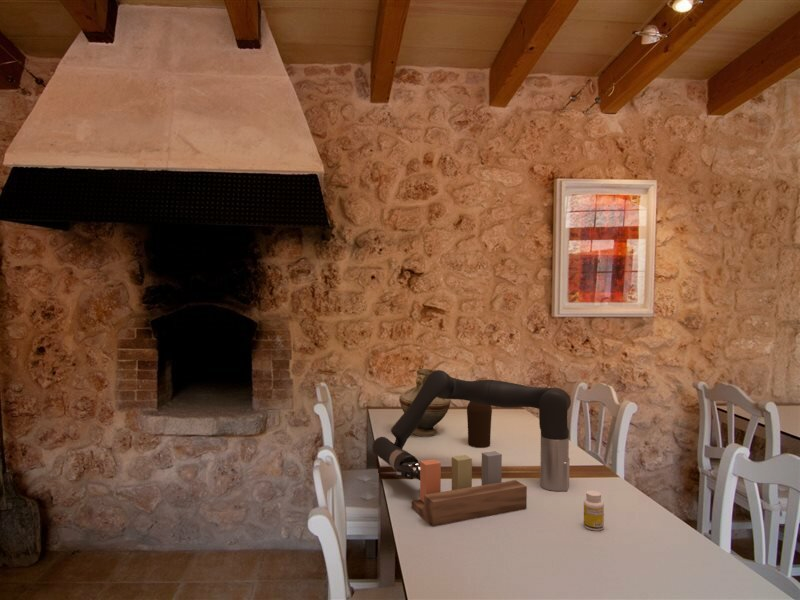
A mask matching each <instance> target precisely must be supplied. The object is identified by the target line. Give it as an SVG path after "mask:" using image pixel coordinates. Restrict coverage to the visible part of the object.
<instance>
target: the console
mask: <svg viewBox="0 0 800 600" xmlns="http://www.w3.org/2000/svg"><path fill="white" fill-rule="evenodd" d="M527 487H528V486H527V485H525V484H523V483H521V482H520V481H518V480H516V479H513V480H507V481H502V482H500V483H494V484H488V485H482V484H481V485H477V486H476V485H475V486H472V487H469V488H463V489H457V490H452V489H450V490H444V491H441V492H438V493H432V494H426V495H424V502H422V501H421V500H420V498H419V499H414V500H411V508H412V509H413V510H414V511H416V513H417V514H419V515H420V517H422V519H424V520H425V521H426V522H427V523H428V524H429V525H431V526H432V527H437V526H443V525H448V524H453V523H458V522H464V521H469V520H475V519H480V518H487V517H490V516H491V517H492V516H496V515H497V516H498V515H503V514H507V513H513V512H518V511H522V510H527V507H528V506H527V503H528V502H527V501H528V500H527V499H528V498H527V497H528V491H527V490H528V488H527Z"/></svg>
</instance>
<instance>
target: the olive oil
mask: <svg viewBox="0 0 800 600" xmlns="http://www.w3.org/2000/svg"><path fill="white" fill-rule="evenodd" d="M492 413H493V409H492V406H490V405H485V404H480V403H475V402H471V401H468V403H467V407H466V418H467V419H466V420H467V445H468V446H469V447H472V448H476V449H477V448H479V449H480V448H482V449H483V448H488V447H490V446H491V433H492V432H491V431H492V415H493V414H492Z"/></svg>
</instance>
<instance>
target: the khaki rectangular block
mask: <svg viewBox="0 0 800 600" xmlns="http://www.w3.org/2000/svg"><path fill="white" fill-rule="evenodd" d="M469 487H473V458H472V457H470V456H468V455H466V454H464V455H463V454H462V455H456V456H451V490H457V489H463V488H469Z"/></svg>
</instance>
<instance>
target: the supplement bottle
mask: <svg viewBox="0 0 800 600" xmlns="http://www.w3.org/2000/svg"><path fill="white" fill-rule="evenodd" d="M585 495H586V496H585V497H586V498H585V499H584V500H583V526H584V528H585V529H588V530H590V531H603V530H604V528H605V507H604V506H605V504H604V501H603V500H602V493H601V492H600V491H597V490H587V491H586V494H585Z"/></svg>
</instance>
